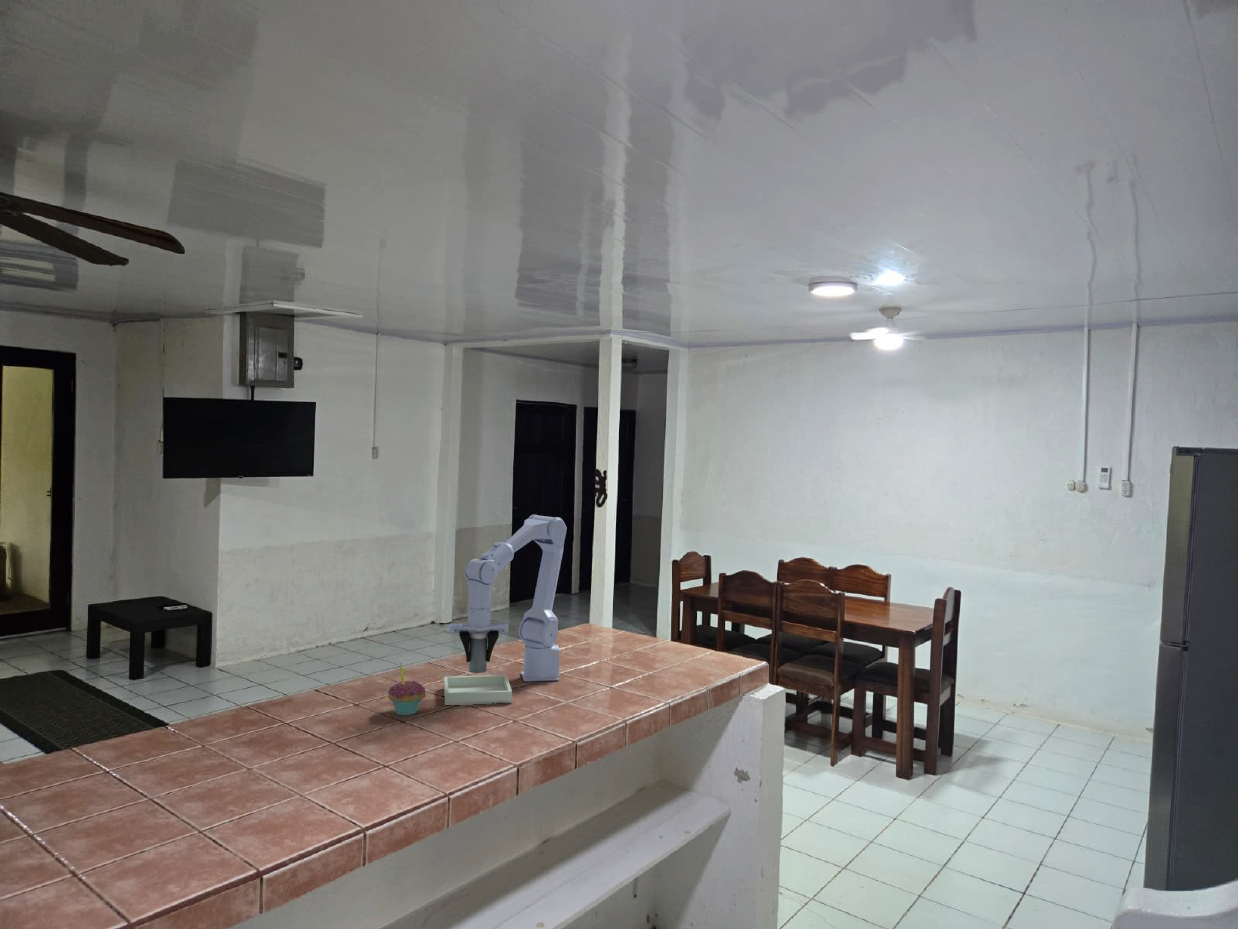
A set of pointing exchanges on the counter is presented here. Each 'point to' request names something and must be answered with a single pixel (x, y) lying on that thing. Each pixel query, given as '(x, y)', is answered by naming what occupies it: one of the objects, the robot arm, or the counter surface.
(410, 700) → the cupcake
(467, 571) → the robot arm
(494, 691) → the tray
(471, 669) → the cylinder
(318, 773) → the counter surface
